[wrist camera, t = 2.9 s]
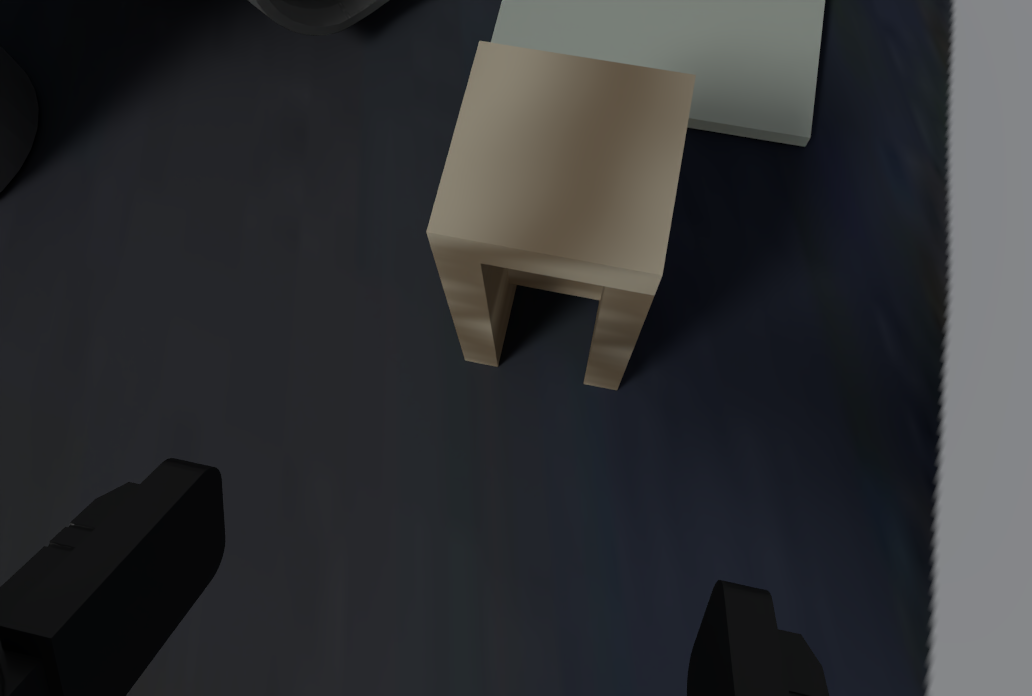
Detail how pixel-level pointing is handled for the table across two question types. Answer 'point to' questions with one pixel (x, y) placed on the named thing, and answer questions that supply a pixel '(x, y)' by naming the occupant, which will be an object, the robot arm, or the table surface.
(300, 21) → the bluetooth speaker
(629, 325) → the birch stool
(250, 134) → the table surface
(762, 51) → the sage mat
